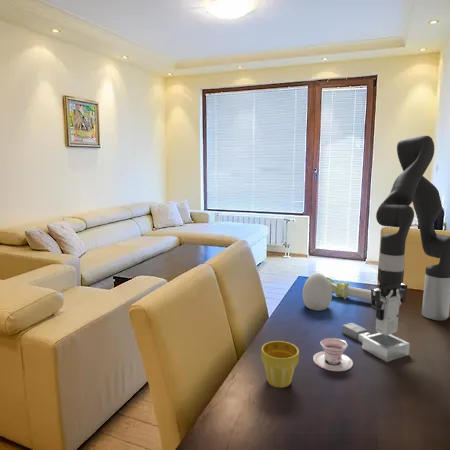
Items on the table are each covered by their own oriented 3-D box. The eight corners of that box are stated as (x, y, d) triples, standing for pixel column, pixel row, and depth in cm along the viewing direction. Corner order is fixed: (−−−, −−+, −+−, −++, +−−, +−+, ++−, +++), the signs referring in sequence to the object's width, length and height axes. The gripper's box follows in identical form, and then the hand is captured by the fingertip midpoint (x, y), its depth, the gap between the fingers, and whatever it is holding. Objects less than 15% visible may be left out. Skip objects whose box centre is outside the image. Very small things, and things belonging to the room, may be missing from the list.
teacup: (330, 376, 112) (331, 356, 111) (305, 357, 123) (305, 339, 122) (361, 366, 117) (362, 347, 116) (334, 349, 128) (335, 332, 127)
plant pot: (289, 396, 102) (290, 362, 100) (254, 384, 107) (254, 351, 106) (303, 378, 110) (304, 346, 109) (270, 368, 116) (271, 337, 114)
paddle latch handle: (357, 328, 143) (357, 318, 143) (408, 354, 124) (409, 343, 123) (336, 334, 139) (337, 323, 138) (386, 362, 119) (387, 349, 119)
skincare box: (386, 336, 122) (389, 299, 120) (374, 330, 125) (376, 295, 123) (398, 331, 125) (401, 295, 123) (385, 326, 129) (388, 291, 127)
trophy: (383, 286, 169) (317, 274, 186) (379, 290, 163) (312, 278, 179) (382, 304, 170) (317, 290, 187) (378, 309, 164) (311, 295, 181)
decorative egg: (335, 305, 167) (336, 272, 164) (326, 314, 157) (327, 279, 154) (308, 300, 173) (309, 267, 171) (297, 308, 163) (298, 274, 161)
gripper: (396, 262, 128) (393, 310, 131) (365, 267, 122) (362, 317, 124) (417, 267, 122) (412, 317, 124) (384, 273, 115) (380, 326, 118)
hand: (387, 317), depth 124 cm, fingers closed on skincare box, 6 cm apart
